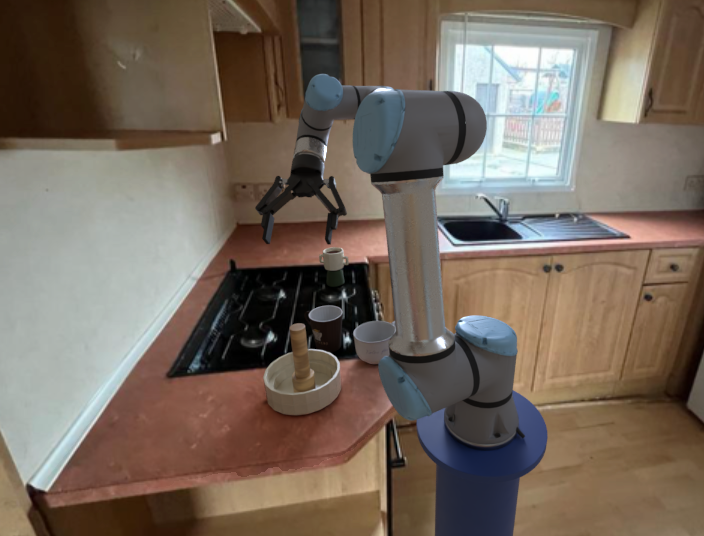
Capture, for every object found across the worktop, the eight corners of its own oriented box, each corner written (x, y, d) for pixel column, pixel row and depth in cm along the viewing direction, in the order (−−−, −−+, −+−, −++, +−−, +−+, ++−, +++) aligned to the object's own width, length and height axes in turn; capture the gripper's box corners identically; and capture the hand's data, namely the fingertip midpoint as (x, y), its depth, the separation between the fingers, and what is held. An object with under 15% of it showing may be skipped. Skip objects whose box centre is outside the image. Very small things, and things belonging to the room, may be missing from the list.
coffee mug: (350, 349, 108) (347, 315, 105) (318, 359, 104) (315, 325, 101) (333, 329, 118) (331, 298, 114) (304, 338, 113) (300, 306, 110)
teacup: (366, 375, 98) (365, 346, 95) (347, 353, 106) (345, 326, 104) (415, 356, 105) (415, 329, 102) (394, 337, 114) (393, 312, 111)
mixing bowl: (355, 381, 96) (354, 360, 94) (309, 428, 82) (306, 404, 80) (301, 363, 103) (299, 342, 100) (251, 403, 89) (246, 380, 87)
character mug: (353, 282, 148) (351, 248, 144) (346, 290, 142) (343, 255, 137) (325, 279, 151) (322, 246, 146) (317, 287, 144) (313, 252, 140)
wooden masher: (320, 385, 93) (313, 324, 88) (305, 398, 89) (298, 335, 84) (303, 379, 95) (296, 319, 90) (289, 392, 91) (280, 329, 86)
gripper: (362, 171, 101) (356, 249, 93) (263, 171, 102) (247, 248, 93) (358, 152, 94) (350, 234, 86) (251, 152, 95) (233, 233, 86)
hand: (296, 241), depth 89 cm, fingers open, 13 cm apart
